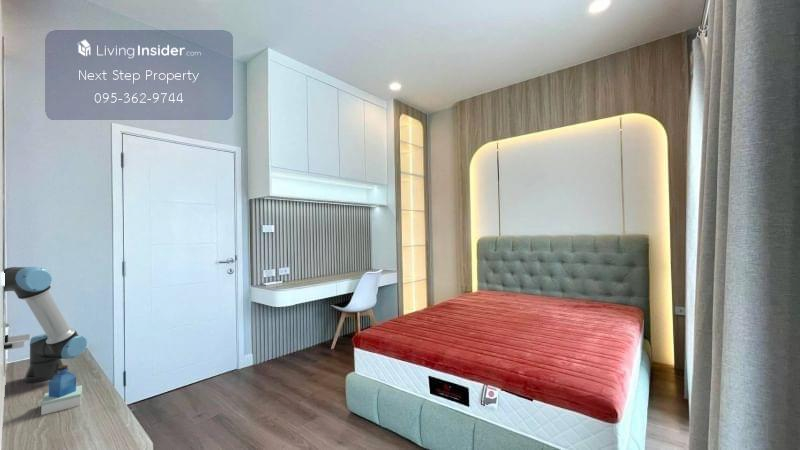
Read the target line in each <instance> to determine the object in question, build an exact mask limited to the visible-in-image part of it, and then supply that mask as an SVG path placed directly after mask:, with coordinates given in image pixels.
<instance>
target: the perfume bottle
mask: <svg viewBox="0 0 800 450" xmlns="http://www.w3.org/2000/svg"><path fill="white" fill-rule="evenodd" d="M63 365H64V366H60V367H58V369H59V370H57V373H58V374H57V375H54V376H53V378H52V379H49V381H48V393H49V396H50V397H59V398H60V397H62V396H65V395H67V394H70V393H72V392H75V391H76V386H77V377H76V375H75V374H74V373H73V372H71V371H70V372H68V371H69V367H68V366H69V365H68V364H66V365H65V364H63Z"/></svg>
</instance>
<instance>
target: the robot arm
mask: <svg viewBox="0 0 800 450" xmlns="http://www.w3.org/2000/svg"><path fill="white" fill-rule="evenodd" d="M3 269H4V273H5V287H4V292H5V293H6V292H14V293H15V295H16V296H17V298H18V300H23V301H24V300H25V302H26V304H27V305H28V307H29V309H30V311H31V312H32V314H33V315H34V317H35V318H36V321H37V322H38V324H39V325H40V327H41V329H42V330H43V331H44V333H41V334H37V335H35V336H34V335H33V336H32V337H31V333H26V334H25V333H24V334H17V335H10V336H9V334H5V335H4V336H5V344H4V349H5V350H4V351H7V350H15V349H20V348H25V346H26V344H25V341H29V366H28V369H27V371H26V373H25V375H24V382H25V383H38V382H43V381H48V380H49V381H50V380H51V379H52V378H53V376H54V375H57V374H58V373H57V370H59V369H58V367H60V366H64V365H65V364H64V363H63V361H62V360H69V359H70V360H71V359H74V358H75V359H76V358H77V357H79V356H81V354H83V353H84V351H86V348H87V345H88V339H87V338H86V337H85V336H84V335H79V333H77V331H76V329H75V328H74V327H72V328H71V327H70V326H69V325H68V322H67V321H66V319H65V317H64V315H63V314H62V312H61V311H60V309H59V307H58V305H57V304H56V302H55V300H54V299H53V296H52V294H51V293H50V290H51V289H52V286H51V282H52V281H53V280H52V278H53V277H52V275H51V273H50V272H49V271H48V270H47V269H46V268H42V267H37V266H13V267H12V266H11V267H6V268H3ZM4 292H3V293H4Z"/></svg>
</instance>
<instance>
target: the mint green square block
mask: <svg viewBox="0 0 800 450" xmlns="http://www.w3.org/2000/svg"><path fill="white" fill-rule="evenodd" d="M82 397H83V385H82V384H81V385H76V391H75V392H72V393H70V394H67V395H65V396H62V397H60V398H59V397H50V396H49V392H45V393H44V395H43V397H42V400H41V401H42V402H41V408H40V409H41V414H40V415H41V416H43V415H47V414H52V413H55V412H60V411H63V410H68V409H72V408H75V407H79V406H81V404H82Z"/></svg>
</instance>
